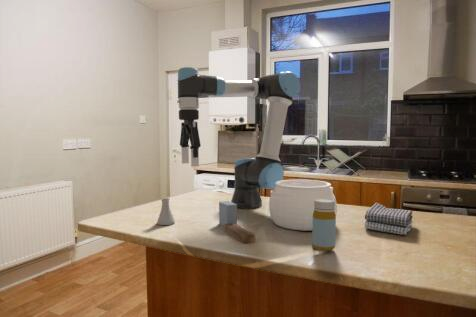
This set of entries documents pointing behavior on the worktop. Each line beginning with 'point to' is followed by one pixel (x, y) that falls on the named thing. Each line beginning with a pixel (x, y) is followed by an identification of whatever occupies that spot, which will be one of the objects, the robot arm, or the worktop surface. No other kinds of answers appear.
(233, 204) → the slab
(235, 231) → the block
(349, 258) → the worktop surface
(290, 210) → the pot
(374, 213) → the towel
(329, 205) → the bottle
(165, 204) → the flask
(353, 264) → the worktop surface
